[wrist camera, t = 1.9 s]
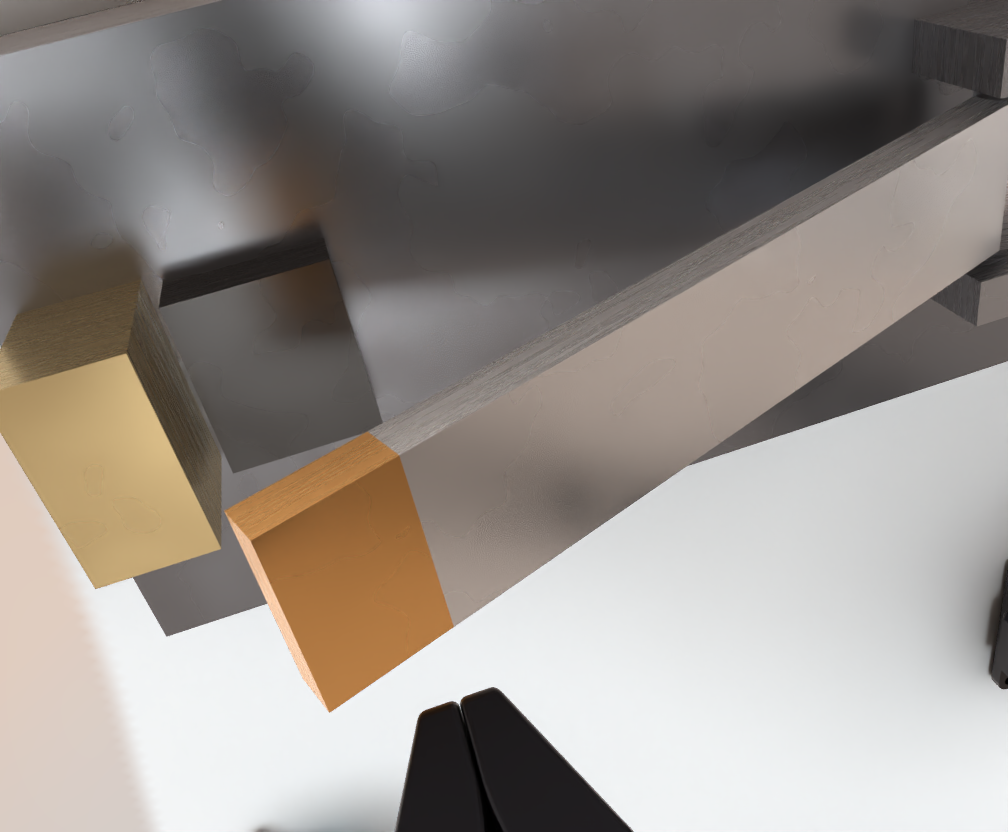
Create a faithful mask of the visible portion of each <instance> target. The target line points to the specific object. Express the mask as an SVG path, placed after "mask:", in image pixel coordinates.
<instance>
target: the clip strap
mask: <svg viewBox="0 0 1008 832" xmlns="http://www.w3.org/2000/svg"><path fill="white" fill-rule="evenodd" d="M1005 249H1008V97H1005V98H1002V99H1000V98H996V97H993V96H989V95H986V94H983V93H979V92H976V91H973V96H972V97H971V98H969V99H967V100H966V101H964V102H962V103H960V104H958V105H957V106H955V107H953V108H951V109H949V110H948V111H946V112H944V113H942V114H940V115H938V116H937V117H935V118H933V119H931V120H929V121H928V122H926V123H924V124H922V125H920V126H919V127H917V128H915V129H913V130H911V131H910V132H908V133H906V134H904V135H902V136H901V137H899V138H897V139H895V140H893V141H891V142H890V143H888V144H886V145H884V146H882V147H881V148H879V149H877V150H875V151H873V152H872V153H870V154H868V155H866V156H864V157H863V158H861V159H859V160H857V161H855V162H854V163H852V164H850V165H848V166H846V167H844V168H843V169H841V170H839V171H837V172H835V173H834V174H832V175H830V176H828V177H826V178H825V179H823V180H821V181H819V182H817V183H816V184H814V185H812V186H810V187H808V188H807V189H805V190H803V191H801V192H799V193H797V194H796V195H794V196H792V197H790V198H788V199H787V200H785V201H783V202H781V203H779V204H778V205H776V206H774V207H772V208H770V209H769V210H767V211H765V212H763V213H761V214H760V215H758V216H756V217H754V218H752V219H750V220H749V221H747V222H745V223H743V224H741V225H740V226H738V227H736V228H734V229H732V230H731V231H729V232H727V233H725V234H723V235H722V236H720V237H718V238H716V239H714V240H713V241H711V242H709V243H707V244H705V245H703V246H702V247H700V248H698V249H696V250H694V251H693V252H691V253H689V254H687V255H685V256H684V257H682V258H680V259H678V260H676V261H675V262H673V263H671V264H669V265H667V266H666V267H664V268H662V269H660V270H658V271H656V272H655V273H653V274H651V275H649V276H647V277H646V278H644V279H642V280H640V281H638V282H637V283H635V284H633V285H631V286H629V287H628V288H626V289H624V290H622V291H620V292H619V293H617V294H615V295H613V296H611V297H609V298H608V299H606V300H604V301H602V302H600V303H599V304H597V305H595V306H593V307H591V308H590V309H588V310H586V311H584V312H582V313H581V314H579V315H577V316H575V317H573V318H572V319H570V320H568V321H566V322H564V323H562V324H561V325H559V326H557V327H555V328H553V329H552V330H550V331H548V332H546V333H544V334H543V335H541V336H539V337H537V338H535V339H534V340H532V341H530V342H528V343H526V344H525V345H523V346H521V347H519V348H517V349H515V350H514V351H512V352H510V353H508V354H506V355H505V356H503V357H501V358H499V359H497V360H496V361H494V362H492V363H490V364H488V365H487V366H485V367H483V368H481V369H479V370H478V371H476V372H474V373H472V374H470V375H468V376H467V377H465V378H463V379H461V380H459V381H458V382H456V383H454V384H452V385H450V386H449V387H447V388H445V389H443V390H441V391H440V392H438V393H436V394H434V395H432V396H431V397H429V398H427V399H425V400H423V401H421V402H420V403H418V404H416V405H414V406H412V407H411V408H409V409H407V410H405V411H403V412H402V413H400V414H398V415H396V416H394V417H393V418H391V419H389V420H387V421H385V422H383V423H382V424H380V425H378V426H376V427H374V428H373V429H371V430H369V431H367V432H365V433H364V434H362V435H360V436H358V437H356V438H355V439H353V440H351V441H349V442H347V443H346V444H344V445H342V446H340V447H338V448H336V449H335V450H333V451H331V452H329V453H327V454H326V455H324V456H322V457H320V458H318V459H317V460H315V461H313V462H311V463H309V464H308V465H306V466H304V467H302V468H300V469H299V470H297V471H295V472H293V473H291V474H289V475H288V476H286V477H284V478H282V479H280V480H279V481H277V482H275V483H273V484H271V485H270V486H268V487H266V488H264V489H262V490H261V491H259V492H257V493H255V494H253V495H252V496H250V497H248V498H246V499H244V500H242V501H241V502H239V503H237V504H235V505H233V506H232V507H230V508H228V509H226V510H224V512H225V514H226V516H227V518H228V520H229V522H230V524H231V527H232V529H233V531H234V533H235V535H236V537H237V539H238V541H239V544H240V546H241V548H242V550H243V552H244V554H245V556H246V558H247V561H248V563H249V565H250V567H251V569H252V571H253V573H254V576H255V578H256V580H257V582H258V584H259V586H260V588H261V590H262V593H263V595H264V597H265V599H266V601H267V603H268V605H269V607H270V610H271V612H272V614H273V616H274V618H275V620H276V622H277V624H278V627H279V629H280V631H281V633H282V635H283V637H284V639H285V642H286V644H287V646H288V648H289V650H290V652H291V654H292V656H293V659H294V661H295V663H296V665H297V667H298V669H299V671H300V673H301V676H302V678H303V679H304V681H305V682H306V683H307V684H308V686H309V687H310V688H311V690H312V691H313V692H314V693H315V695H316V696H317V697H318V699H319V700H320V701H321V702H322V704H323V705H324V706H325V708H326V709H327V710H328V712H329V713H330V712H331V711H333V710H334V709H336V708H337V707H339V706H340V705H341V704H343V703H344V702H346V701H347V700H349V699H350V698H352V697H353V696H354V695H356V694H357V693H359V692H360V691H362V690H363V689H365V688H366V687H368V686H369V685H370V684H372V683H373V682H375V681H376V680H378V679H379V678H381V677H382V676H383V675H385V674H386V673H388V672H389V671H391V670H392V669H394V668H395V667H396V666H398V665H399V664H401V663H402V662H404V661H405V660H407V659H408V658H410V657H411V656H412V655H414V654H415V653H417V652H418V651H420V650H421V649H423V648H424V647H425V646H427V645H428V644H430V643H431V642H433V641H434V640H436V639H437V638H438V637H440V636H441V635H443V634H444V633H446V632H447V631H449V630H450V629H452V628H453V627H454V626H456V625H457V624H459V623H460V622H462V621H463V620H465V619H466V618H467V617H469V616H470V615H472V614H473V613H475V612H476V611H478V610H479V609H480V608H482V607H483V606H485V605H486V604H488V603H489V602H491V601H492V600H494V599H495V598H496V597H498V596H499V595H501V594H502V593H504V592H505V591H507V590H508V589H509V588H511V587H512V586H514V585H515V584H517V583H518V582H520V581H521V580H522V579H524V578H525V577H527V576H528V575H530V574H531V573H533V572H534V571H536V570H537V569H538V568H540V567H541V566H543V565H544V564H546V563H547V562H549V561H550V560H551V559H553V558H554V557H556V556H557V555H559V554H560V553H562V552H563V551H564V550H566V549H567V548H569V547H570V546H572V545H573V544H575V543H576V542H578V541H579V540H580V539H582V538H583V537H585V536H586V535H588V534H589V533H591V532H592V531H593V530H595V529H596V528H598V527H599V526H601V525H602V524H604V523H605V522H607V521H608V520H609V519H611V518H612V517H614V516H615V515H617V514H618V513H620V512H621V511H622V510H624V509H625V508H627V507H628V506H630V505H631V504H633V503H634V502H635V501H637V500H638V499H640V498H641V497H643V496H644V495H646V494H647V493H649V492H650V491H651V490H653V489H654V488H656V487H657V486H659V485H660V484H662V483H663V482H664V481H666V480H667V479H669V478H670V477H672V476H673V475H675V474H676V473H677V472H679V471H680V470H682V469H683V468H685V467H686V466H688V465H689V464H691V463H692V462H693V461H695V460H696V459H698V458H699V457H701V456H702V455H704V454H705V453H706V452H708V451H709V450H711V449H712V448H714V447H715V446H717V445H718V444H719V443H721V442H722V441H724V440H725V439H727V438H728V437H730V436H731V435H733V434H734V433H735V432H737V431H738V430H740V429H741V428H743V427H744V426H746V425H747V424H748V423H750V422H751V421H753V420H754V419H756V418H757V417H759V416H760V415H761V414H763V413H764V412H766V411H767V410H769V409H770V408H772V407H773V406H775V405H776V404H777V403H779V402H780V401H782V400H783V399H785V398H786V397H788V396H789V395H790V394H792V393H793V392H795V391H796V390H798V389H799V388H801V387H802V386H803V385H805V384H806V383H808V382H809V381H811V380H812V379H814V378H815V377H817V376H818V375H819V374H821V373H822V372H824V371H825V370H827V369H828V368H830V367H831V366H832V365H834V364H835V363H837V362H838V361H840V360H841V359H843V358H844V357H845V356H847V355H848V354H850V353H851V352H853V351H854V350H856V349H857V348H859V347H860V346H861V345H863V344H864V343H866V342H867V341H869V340H870V339H872V338H873V337H874V336H876V335H877V334H879V333H880V332H882V331H883V330H885V329H886V328H888V327H889V326H890V325H892V324H893V323H895V322H896V321H898V320H899V319H901V318H902V317H903V316H905V315H906V314H908V313H909V312H911V311H912V310H914V309H915V308H916V307H918V306H919V305H921V304H922V303H924V302H925V301H927V300H928V299H930V298H931V297H932V296H934V295H935V294H937V293H938V292H940V291H941V290H943V289H944V288H945V287H947V286H948V285H950V284H951V283H953V282H954V281H956V280H957V279H958V278H960V277H961V276H963V275H964V274H966V273H967V272H969V271H970V270H972V269H973V268H974V267H976V266H977V265H979V264H980V263H982V262H983V261H985V260H986V259H987V258H989V257H990V256H992V255H993V254H995V253H996V252H998V251H999V250H1005Z"/></svg>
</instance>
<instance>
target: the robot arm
mask: <svg viewBox="0 0 1008 832" xmlns="http://www.w3.org/2000/svg"><path fill="white" fill-rule="evenodd" d="M992 680H993V681H994V682H995V683H996V684H997V685H998V686H999V687H1000V688H1001V689H1008V571H1007V577H1006V584H1005V590H1004V597H1003V603H1002V610H1001V617H1000V623H999V630H998V636H997V643H996V650H995V656H994V663H993V669H992ZM460 707H461V709H460ZM461 711H462V712H461ZM395 832H634V831H633V830H632V829H631V828H630V827H629V826H628V825H627V824H626V823H625V822H624V821H623V820H622V819H621V817H620V816H619V815H618V814H617V813H616V812H615V811H614V810H613V809H612V808H611V807H610V806H609V805H608V804H607V803H606V802H605V801H604V799H603V798H602V797H601V796H600V795H599V794H598V793H597V792H596V791H595V790H594V789H593V788H592V787H591V786H590V785H589V784H588V783H587V781H586V780H585V779H584V778H583V777H582V776H581V775H580V774H579V773H578V772H577V771H576V770H575V769H574V768H573V767H572V766H571V765H570V763H569V762H568V761H567V760H566V759H565V758H564V757H563V756H562V755H561V754H560V753H559V752H558V751H557V750H556V749H555V748H554V747H553V745H552V744H551V743H550V742H549V741H548V740H547V739H546V738H545V737H544V736H543V735H542V734H541V733H540V732H539V731H538V730H537V729H536V727H535V726H534V725H533V724H532V723H531V722H530V721H529V720H528V719H527V718H526V717H525V716H524V715H523V714H522V713H521V712H520V711H519V709H518V708H517V707H516V706H515V705H514V704H513V703H512V702H511V701H510V700H509V699H508V698H507V697H506V696H505V695H504V694H503V693H502V692H501V691H500V690H499V689H497V688H494V687H491V688H488V689H485V690H482V691H479V692H476V693H473V694H470V695H468V696H465V697H463V698H462V700H461V702H460V706H459V704H457V703H456V702H453V701H451V702H447V703H445V704H442V705H439V706H436V707H433V708H430V709H427V710H425V711H423V712H422V713H421V714H420V715H419V718H418V720H417V724H416V729H415V734H414V739H413V744H412V749H411V754H410V759H409V764H408V768H407V773H406V778H405V783H404V788H403V793H402V798H401V803H400V808H399V813H398V818H397V822H396V827H395Z"/></svg>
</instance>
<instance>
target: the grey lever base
mask: <svg viewBox="0 0 1008 832" xmlns="http://www.w3.org/2000/svg"><path fill="white" fill-rule="evenodd" d="M973 91H976V92H979V93H983V94H986V95H989V96H993V97H996V98H1000V99H1002V98H1005V97H1008V0H144V1H139V2H135V3H131V4H127V5H123V6H119V7H115V8H111V9H107V10H103V11H99V12H95V13H91V14H87V15H83V16H79V17H75V18H71V19H67V20H63V21H59V22H54V23H50V24H46V25H42V26H38V27H34V28H30V29H26V30H22V31H18V32H14V33H10V34H6V35H2V36H0V346H1V349H0V433H1V434H2V436H3V438H4V439H5V441H6V443H7V444H8V446H9V448H10V449H11V451H12V452H13V454H14V456H15V457H16V459H17V461H18V462H19V464H20V466H21V467H22V469H23V471H24V472H25V474H26V475H27V477H28V479H29V480H30V482H31V484H32V485H33V487H34V489H35V490H36V492H37V494H38V495H39V497H40V499H41V500H42V502H43V503H44V505H45V507H46V508H47V510H48V512H49V513H50V515H51V517H52V518H53V520H54V522H55V523H56V525H57V527H58V528H59V530H60V531H61V533H62V535H63V536H64V538H65V540H66V541H67V543H68V545H69V546H70V548H71V550H72V551H73V553H74V554H75V556H76V558H77V559H78V561H79V563H80V564H81V566H82V568H83V569H84V571H85V573H86V574H87V576H88V578H89V579H90V581H91V582H92V584H93V586H94V587H95V589H97V588H100V587H104V586H107V585H110V584H113V583H116V582H119V581H122V580H126V579H129V578H132V577H133V578H134V580H135V582H136V584H137V585H138V587H139V589H140V591H141V592H142V594H143V596H144V598H145V599H146V601H147V603H148V605H149V607H150V608H151V610H152V612H153V614H154V615H155V617H156V619H157V621H158V622H159V624H160V626H161V628H162V629H163V631H164V633H165V635H166V636H170V635H173V634H176V633H179V632H182V631H185V630H188V629H191V628H194V627H197V626H200V625H203V624H206V623H209V622H213V621H216V620H219V619H222V618H225V617H228V616H231V615H234V614H237V613H240V612H243V611H246V610H249V609H252V608H255V607H258V606H261V605H264V604H267V601H266V599H265V597H264V595H263V593H262V590H261V588H260V586H259V584H258V582H257V580H256V578H255V576H254V573H253V571H252V569H251V567H250V565H249V563H248V561H247V558H246V556H245V554H244V552H243V550H242V548H241V546H240V544H239V541H238V539H237V537H236V535H235V533H234V531H233V529H232V527H231V524H230V522H229V520H228V518H227V516H226V514H225V512H224V510H226V509H228V508H230V507H232V506H233V505H235V504H237V503H239V502H241V501H242V500H244V499H246V498H248V497H250V496H252V495H253V494H255V493H257V492H259V491H261V490H262V489H264V488H266V487H268V486H270V485H271V484H273V483H275V482H277V481H279V480H280V479H282V478H284V477H286V476H288V475H289V474H291V473H293V472H295V471H297V470H299V469H300V468H302V467H304V466H306V465H308V464H309V463H311V462H313V461H315V460H317V459H318V458H320V457H322V456H324V455H326V454H327V453H329V452H331V451H333V450H335V449H336V448H338V447H340V446H342V445H344V444H346V443H347V442H349V441H351V440H353V439H355V438H356V437H358V436H360V435H362V434H364V433H365V432H367V431H369V430H371V429H373V428H374V427H376V426H378V425H380V424H382V423H383V422H385V421H387V420H389V419H391V418H393V417H394V416H396V415H398V414H400V413H402V412H403V411H405V410H407V409H409V408H411V407H412V406H414V405H416V404H418V403H420V402H421V401H423V400H425V399H427V398H429V397H431V396H432V395H434V394H436V393H438V392H440V391H441V390H443V389H445V388H447V387H449V386H450V385H452V384H454V383H456V382H458V381H459V380H461V379H463V378H465V377H467V376H468V375H470V374H472V373H474V372H476V371H478V370H479V369H481V368H483V367H485V366H487V365H488V364H490V363H492V362H494V361H496V360H497V359H499V358H501V357H503V356H505V355H506V354H508V353H510V352H512V351H514V350H515V349H517V348H519V347H521V346H523V345H525V344H526V343H528V342H530V341H532V340H534V339H535V338H537V337H539V336H541V335H543V334H544V333H546V332H548V331H550V330H552V329H553V328H555V327H557V326H559V325H561V324H562V323H564V322H566V321H568V320H570V319H572V318H573V317H575V316H577V315H579V314H581V313H582V312H584V311H586V310H588V309H590V308H591V307H593V306H595V305H597V304H599V303H600V302H602V301H604V300H606V299H608V298H609V297H611V296H613V295H615V294H617V293H619V292H620V291H622V290H624V289H626V288H628V287H629V286H631V285H633V284H635V283H637V282H638V281H640V280H642V279H644V278H646V277H647V276H649V275H651V274H653V273H655V272H656V271H658V270H660V269H662V268H664V267H666V266H667V265H669V264H671V263H673V262H675V261H676V260H678V259H680V258H682V257H684V256H685V255H687V254H689V253H691V252H693V251H694V250H696V249H698V248H700V247H702V246H703V245H705V244H707V243H709V242H711V241H713V240H714V239H716V238H718V237H720V236H722V235H723V234H725V233H727V232H729V231H731V230H732V229H734V228H736V227H738V226H740V225H741V224H743V223H745V222H747V221H749V220H750V219H752V218H754V217H756V216H758V215H760V214H761V213H763V212H765V211H767V210H769V209H770V208H772V207H774V206H776V205H778V204H779V203H781V202H783V201H785V200H787V199H788V198H790V197H792V196H794V195H796V194H797V193H799V192H801V191H803V190H805V189H807V188H808V187H810V186H812V185H814V184H816V183H817V182H819V181H821V180H823V179H825V178H826V177H828V176H830V175H832V174H834V173H835V172H837V171H839V170H841V169H843V168H844V167H846V166H848V165H850V164H852V163H854V162H855V161H857V160H859V159H861V158H863V157H864V156H866V155H868V154H870V153H872V152H873V151H875V150H877V149H879V148H881V147H882V146H884V145H886V144H888V143H890V142H891V141H893V140H895V139H897V138H899V137H901V136H902V135H904V134H906V133H908V132H910V131H911V130H913V129H915V128H917V127H919V126H920V125H922V124H924V123H926V122H928V121H929V120H931V119H933V118H935V117H937V116H938V115H940V114H942V113H944V112H946V111H948V110H949V109H951V108H953V107H955V106H957V105H958V104H960V103H962V102H964V101H966V100H967V99H969V98H971V97H972V96H973ZM1006 361H1008V249H1005V250H999V251H998V252H996V253H995V254H993V255H992V256H990V257H989V258H987V259H986V260H985V261H983V262H982V263H980V264H979V265H977V266H976V267H974V268H973V269H972V270H970V271H969V272H967V273H966V274H964V275H963V276H961V277H960V278H958V279H957V280H956V281H954V282H953V283H951V284H950V285H948V286H947V287H945V288H944V289H943V290H941V291H940V292H938V293H937V294H935V295H934V296H932V297H931V298H930V299H928V300H927V301H925V302H924V303H922V304H921V305H919V306H918V307H916V308H915V309H914V310H912V311H911V312H909V313H908V314H906V315H905V316H903V317H902V318H901V319H899V320H898V321H896V322H895V323H893V324H892V325H890V326H889V327H888V328H886V329H885V330H883V331H882V332H880V333H879V334H877V335H876V336H874V337H873V338H872V339H870V340H869V341H867V342H866V343H864V344H863V345H861V346H860V347H859V348H857V349H856V350H854V351H853V352H851V353H850V354H848V355H847V356H845V357H844V358H843V359H841V360H840V361H838V362H837V363H835V364H834V365H832V366H831V367H830V368H828V369H827V370H825V371H824V372H822V373H821V374H819V375H818V376H817V377H815V378H814V379H812V380H811V381H809V382H808V383H806V384H805V385H803V386H802V387H801V388H799V389H798V390H796V391H795V392H793V393H792V394H790V395H789V396H788V397H786V398H785V399H783V400H782V401H780V402H779V403H777V404H776V405H775V406H773V407H772V408H770V409H769V410H767V411H766V412H764V413H763V414H761V415H760V416H759V417H757V418H756V419H754V420H753V421H751V422H750V423H748V424H747V425H746V426H744V427H743V428H741V429H740V430H738V431H737V432H735V433H734V434H733V435H731V436H730V437H728V438H727V439H725V440H724V441H722V442H721V443H719V444H718V445H717V446H715V447H714V448H712V449H711V450H709V451H708V452H706V453H705V454H704V455H702V456H701V457H699V458H698V459H696V460H695V461H693V462H692V463H691V464H689V465H692V464H695V463H698V462H701V461H704V460H707V459H710V458H713V457H716V456H719V455H722V454H725V453H729V452H732V451H735V450H738V449H741V448H744V447H747V446H750V445H753V444H756V443H759V442H762V441H765V440H768V439H771V438H774V437H777V436H780V435H783V434H787V433H790V432H793V431H796V430H799V429H802V428H805V427H808V426H811V425H814V424H817V423H820V422H823V421H826V420H829V419H832V418H835V417H838V416H841V415H845V414H848V413H851V412H854V411H857V410H860V409H863V408H866V407H869V406H872V405H875V404H878V403H881V402H884V401H887V400H890V399H893V398H896V397H900V396H903V395H906V394H909V393H912V392H915V391H918V390H921V389H924V388H927V387H930V386H933V385H936V384H939V383H942V382H945V381H948V380H951V379H954V378H958V377H961V376H964V375H967V374H970V373H973V372H976V371H979V370H982V369H985V368H988V367H991V366H994V365H997V364H1000V363H1003V362H1006ZM689 465H688V466H689Z"/></svg>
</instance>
